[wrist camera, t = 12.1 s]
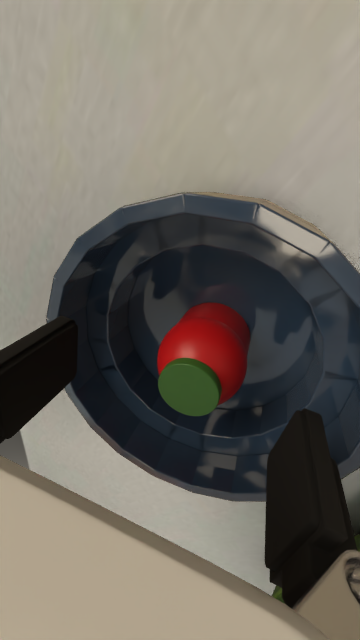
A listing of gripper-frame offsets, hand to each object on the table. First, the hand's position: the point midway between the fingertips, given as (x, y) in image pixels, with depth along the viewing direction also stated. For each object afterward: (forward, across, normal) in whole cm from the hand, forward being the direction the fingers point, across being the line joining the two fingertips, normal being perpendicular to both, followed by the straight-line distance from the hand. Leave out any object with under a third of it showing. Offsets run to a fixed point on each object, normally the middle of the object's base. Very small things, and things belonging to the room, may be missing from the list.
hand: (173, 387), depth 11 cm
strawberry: (+5, -1, 0) cm, 5 cm away
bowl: (+5, -1, 0) cm, 5 cm away
